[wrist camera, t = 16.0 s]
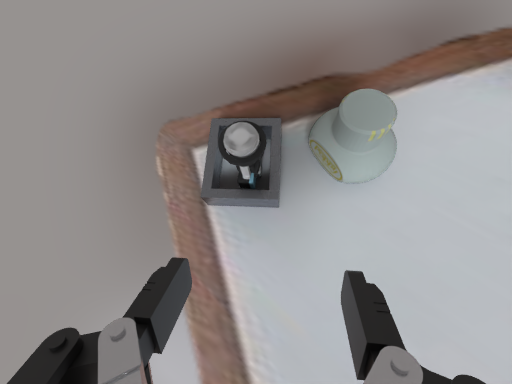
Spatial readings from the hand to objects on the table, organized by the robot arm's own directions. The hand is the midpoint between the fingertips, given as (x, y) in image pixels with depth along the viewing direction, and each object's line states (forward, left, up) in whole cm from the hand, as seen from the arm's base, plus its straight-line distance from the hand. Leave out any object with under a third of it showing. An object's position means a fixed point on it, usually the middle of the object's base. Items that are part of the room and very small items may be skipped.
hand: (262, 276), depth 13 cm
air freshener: (-10, -17, -19) cm, 28 cm away
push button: (+4, -15, -19) cm, 25 cm away
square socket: (+5, -15, -19) cm, 25 cm away
